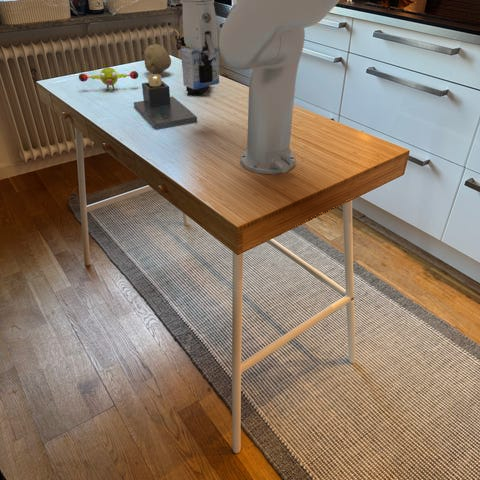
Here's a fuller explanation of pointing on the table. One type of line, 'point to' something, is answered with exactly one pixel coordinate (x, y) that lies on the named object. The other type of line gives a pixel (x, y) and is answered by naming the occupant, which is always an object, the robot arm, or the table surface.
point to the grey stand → (162, 108)
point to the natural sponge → (156, 59)
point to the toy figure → (108, 77)
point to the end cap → (197, 91)
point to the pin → (154, 81)
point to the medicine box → (197, 68)
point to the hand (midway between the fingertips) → (201, 78)
